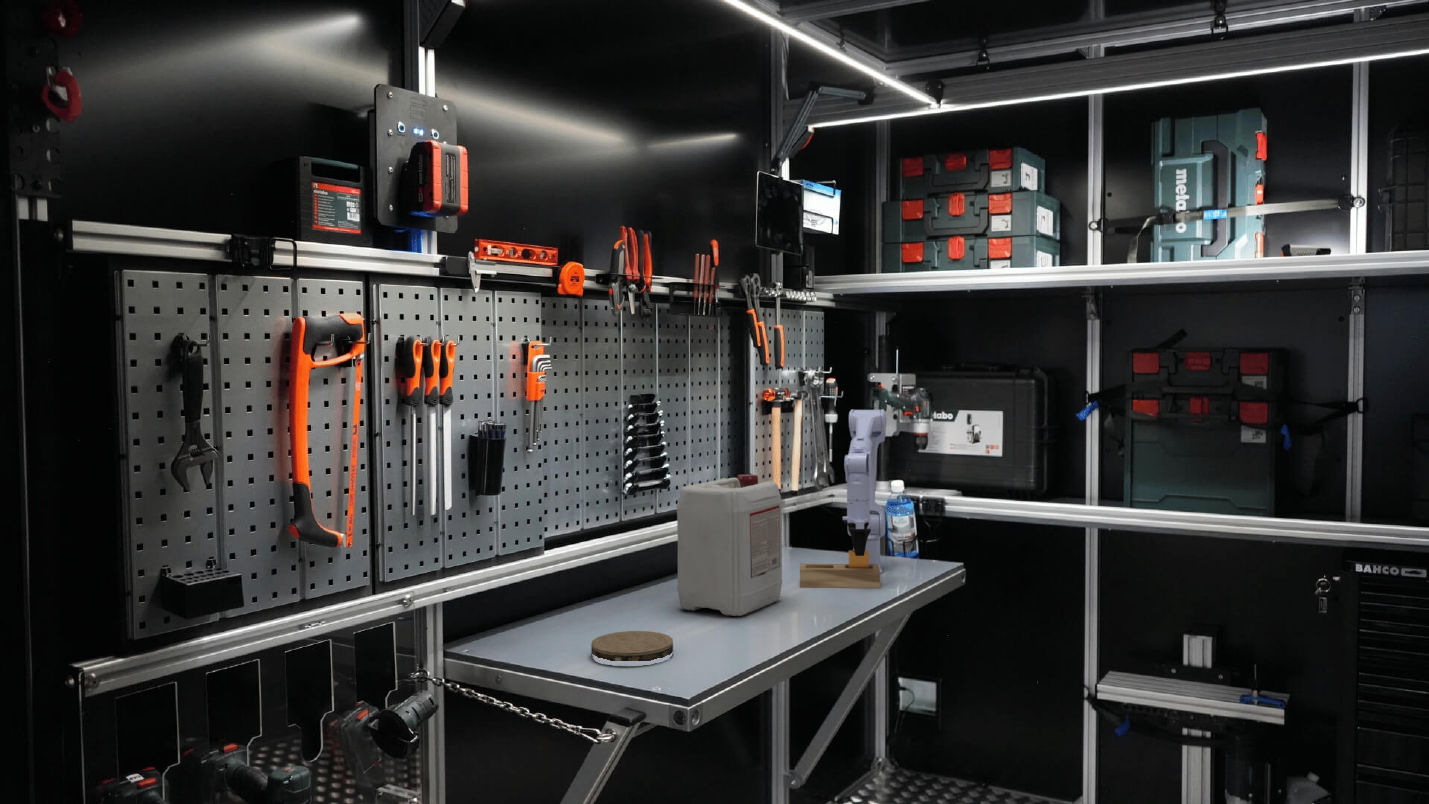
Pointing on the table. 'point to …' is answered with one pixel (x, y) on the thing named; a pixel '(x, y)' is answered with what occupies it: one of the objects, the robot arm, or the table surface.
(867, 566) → the orange wooden block
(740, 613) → the jerry can
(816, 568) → the slotted wooden block
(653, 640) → the brown round disc
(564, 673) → the table surface
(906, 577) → the table surface
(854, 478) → the robot arm
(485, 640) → the table surface
